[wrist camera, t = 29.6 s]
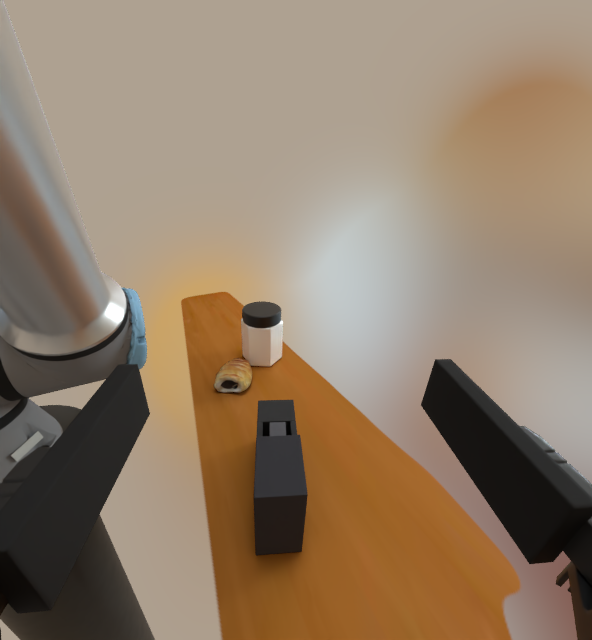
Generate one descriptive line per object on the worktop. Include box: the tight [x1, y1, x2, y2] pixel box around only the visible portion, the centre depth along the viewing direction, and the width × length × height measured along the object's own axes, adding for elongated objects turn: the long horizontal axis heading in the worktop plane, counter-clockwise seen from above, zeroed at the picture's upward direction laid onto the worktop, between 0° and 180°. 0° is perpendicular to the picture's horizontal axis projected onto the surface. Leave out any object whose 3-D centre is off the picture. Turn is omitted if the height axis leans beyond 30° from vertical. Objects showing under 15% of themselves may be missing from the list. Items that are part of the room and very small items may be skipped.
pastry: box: [214, 358, 252, 392], centre depth 56 cm, size 9×7×4 cm
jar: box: [241, 302, 283, 367], centre depth 62 cm, size 9×8×12 cm
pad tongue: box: [254, 422, 307, 555], centre depth 33 cm, size 10×5×10 cm, turn 5°
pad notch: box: [257, 400, 297, 437], centre depth 39 cm, size 7×5×8 cm
